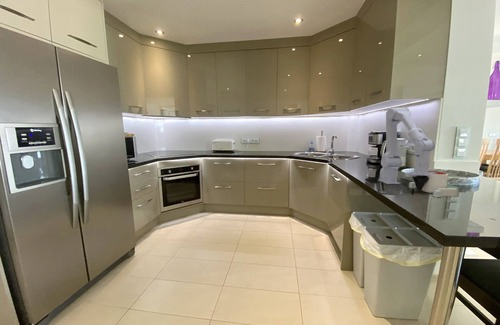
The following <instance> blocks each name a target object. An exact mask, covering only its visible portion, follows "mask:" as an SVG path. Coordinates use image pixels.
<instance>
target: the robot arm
mask: <svg viewBox="0 0 500 325" xmlns="http://www.w3.org/2000/svg"><path fill="white" fill-rule="evenodd" d="M411 115H412V111H411V110H410V108H408V107H405V106H404V107H390V108H388V110H386V112H385V129H386V130H385V131H386V133H385V137H386V138H385V140H386V142H385V143H386V145H385V147H386V149H385V150H386V151H385V152H384V153H383V154H382V155H381V160H380V164H381V167H382V168H381V169H380V171H379V179H378V181H379V182H381V183H384V184H387V185H400V184H401V182H399V181H398V172H399V169H400V167H401V166H402V165H403V160H402V155H401V153H400V152H398V125H399V124H400V123H403V125H404V127H406V128H407V130H408V136H409V138H410V140H411V141H412V142H413V150H414V155H415V157H414V169H413V171H406V172H404V176H405V177H406V178H409V177H410V178H412V180H413V182H415V185H416V188H415V189H416V191H419V192H420V191H422V188H423V186H424V184H425V183H426V182H427V181H428V180H429V177H427V176H428V175H430V174H437V173H435V172H428V171H430V170H429V168H430V161H431V153H432V151H433V150H434V149H435V142H434V141H433V140H432V139H429V138H428V137H427V136H426V134H425V133H424V130H423V129H422V128H421V127H417V126H416V123H415V121H414V119H413V118H412V116H411Z"/></svg>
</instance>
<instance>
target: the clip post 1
mask: <svg viewBox="0 0 500 325" xmlns="http://www.w3.org/2000/svg"><path fill="white" fill-rule="evenodd" d="M408 188H410V189H416V185H415V182H414V181H409V182H408Z"/></svg>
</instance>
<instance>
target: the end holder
mask: <svg viewBox="0 0 500 325" xmlns="http://www.w3.org/2000/svg"><path fill="white" fill-rule="evenodd" d="M436 190H439V191H442V197H459V196H460V191H461V190H460V187H459V186H455V185H452V184H448V183H447V186H446V189H436Z"/></svg>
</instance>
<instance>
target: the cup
mask: <svg viewBox="0 0 500 325" xmlns="http://www.w3.org/2000/svg"><path fill="white" fill-rule="evenodd" d="M428 172H435V173H437V174H430V175H428V176H427V177H429V180H428V181H427V182H426V183H425V184H424V186H423V188H422V190H421V191H423V192H425V193H427V194H433V190H436V189H446V186H447V184H448V178H449V173H447V172H444V171H439V170H438V171H436V170H428Z"/></svg>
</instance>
